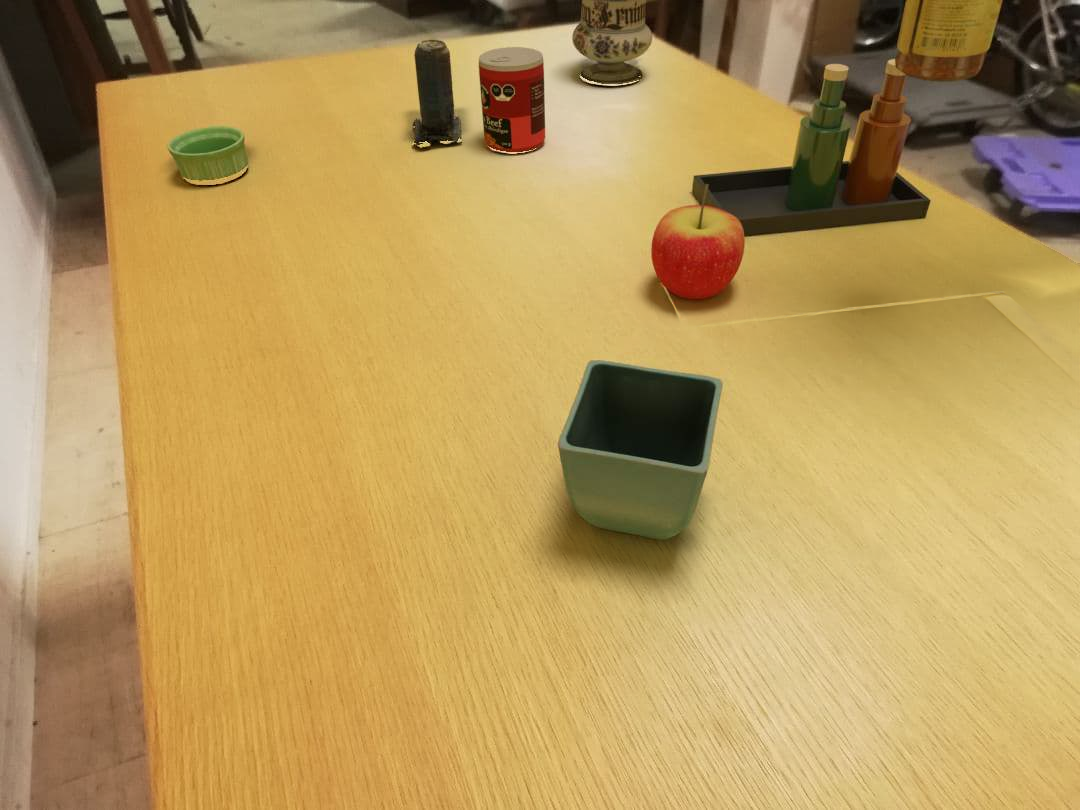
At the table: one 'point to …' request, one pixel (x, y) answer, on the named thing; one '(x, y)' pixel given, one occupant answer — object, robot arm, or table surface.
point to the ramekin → (209, 152)
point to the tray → (766, 212)
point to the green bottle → (820, 146)
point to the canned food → (512, 98)
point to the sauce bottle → (945, 38)
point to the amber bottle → (878, 143)
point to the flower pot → (639, 447)
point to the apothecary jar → (612, 39)
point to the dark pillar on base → (435, 94)
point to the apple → (697, 250)
